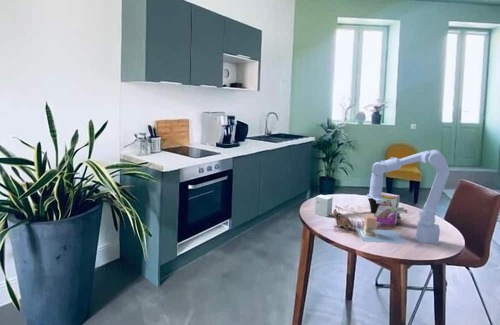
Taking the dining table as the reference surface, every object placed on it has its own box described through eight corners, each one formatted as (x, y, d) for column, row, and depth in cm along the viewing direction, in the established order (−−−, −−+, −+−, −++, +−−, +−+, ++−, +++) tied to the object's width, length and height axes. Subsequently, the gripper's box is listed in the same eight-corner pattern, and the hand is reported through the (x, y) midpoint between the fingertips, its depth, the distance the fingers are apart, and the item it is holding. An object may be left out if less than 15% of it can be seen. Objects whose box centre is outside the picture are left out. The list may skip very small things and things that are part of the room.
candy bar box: (372, 222, 197) (376, 193, 193) (375, 219, 201) (378, 191, 197) (394, 227, 191) (398, 197, 187) (396, 224, 195) (400, 195, 192)
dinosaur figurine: (327, 226, 188) (328, 209, 186) (332, 224, 192) (334, 207, 190) (351, 234, 179) (353, 216, 177) (356, 231, 183) (358, 213, 182)
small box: (331, 215, 206) (333, 197, 204) (326, 217, 202) (328, 199, 200) (319, 211, 211) (320, 194, 209) (314, 213, 207) (315, 196, 205)
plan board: (395, 232, 184) (395, 230, 184) (406, 245, 168) (406, 243, 168) (355, 229, 185) (355, 228, 185) (362, 242, 170) (362, 241, 169)
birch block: (372, 232, 180) (373, 224, 179) (374, 236, 176) (375, 227, 175) (363, 232, 180) (364, 223, 179) (365, 235, 176) (366, 227, 175)
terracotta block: (373, 224, 179) (374, 215, 178) (376, 227, 175) (377, 218, 174) (364, 223, 179) (365, 215, 178) (366, 227, 175) (367, 218, 174)
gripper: (364, 182, 185) (361, 207, 187) (371, 190, 170) (368, 217, 173) (378, 183, 184) (375, 208, 187) (387, 191, 170) (383, 218, 173)
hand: (373, 213), depth 180 cm, fingers closed
